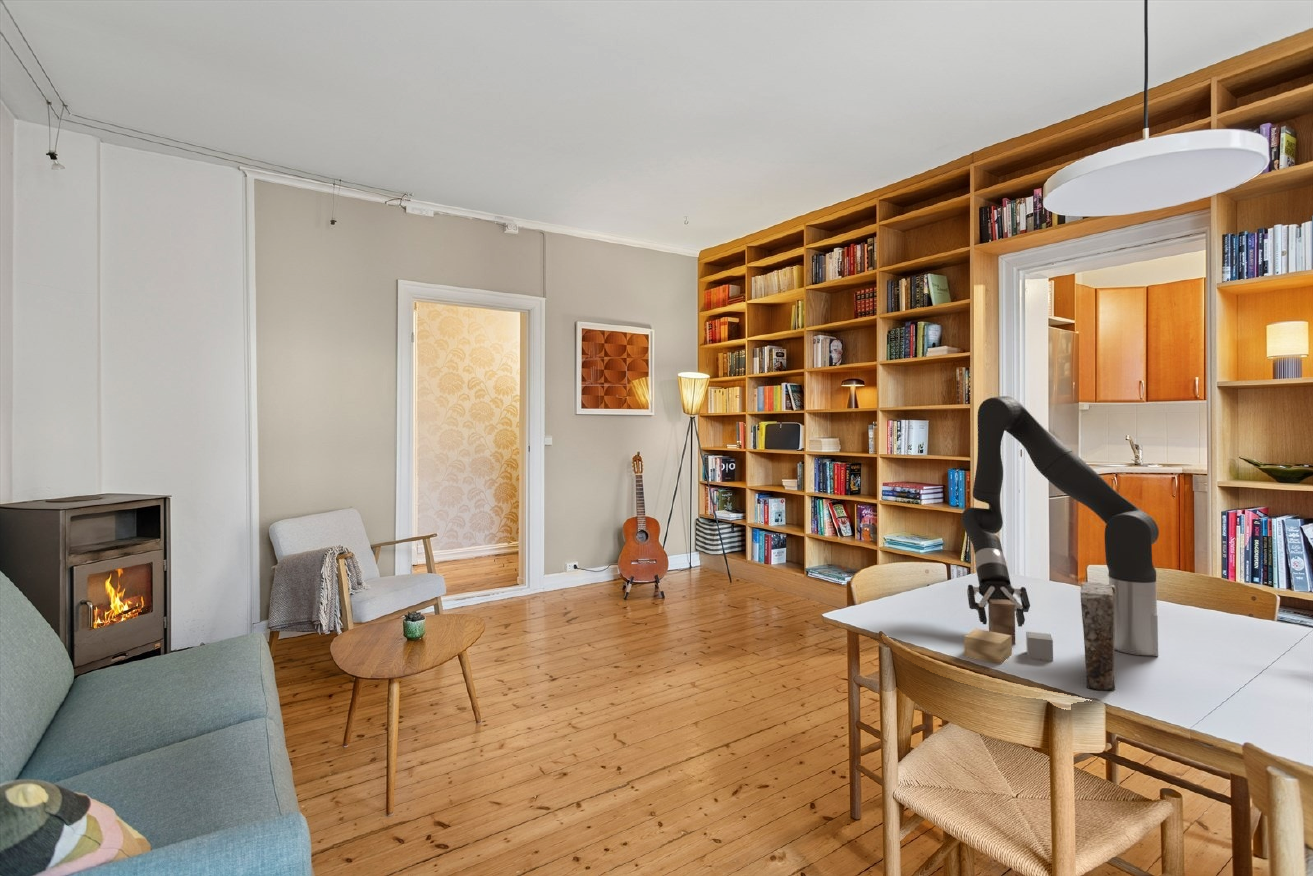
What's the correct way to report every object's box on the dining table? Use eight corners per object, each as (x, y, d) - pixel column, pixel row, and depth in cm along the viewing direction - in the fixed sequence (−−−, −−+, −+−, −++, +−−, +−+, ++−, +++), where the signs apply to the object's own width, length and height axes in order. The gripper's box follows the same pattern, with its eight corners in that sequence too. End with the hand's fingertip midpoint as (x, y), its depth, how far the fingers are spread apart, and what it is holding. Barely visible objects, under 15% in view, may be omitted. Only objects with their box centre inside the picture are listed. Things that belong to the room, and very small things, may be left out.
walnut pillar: (1010, 638, 164) (1009, 599, 164) (1015, 644, 159) (1014, 604, 159) (988, 636, 165) (988, 598, 165) (993, 643, 160) (992, 603, 160)
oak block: (1011, 656, 151) (1011, 635, 151) (1001, 665, 146) (1000, 643, 146) (976, 648, 157) (976, 628, 157) (964, 657, 151) (964, 636, 151)
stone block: (1078, 668, 142) (1076, 579, 142) (1116, 673, 139) (1114, 582, 139) (1082, 689, 131) (1080, 592, 131) (1124, 695, 127) (1122, 596, 127)
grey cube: (1050, 654, 151) (1050, 634, 151) (1053, 661, 147) (1052, 640, 147) (1026, 652, 153) (1026, 631, 153) (1028, 658, 149) (1027, 637, 149)
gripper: (964, 560, 171) (973, 615, 160) (1023, 562, 167) (1037, 618, 156) (961, 575, 176) (970, 629, 165) (1018, 577, 172) (1031, 633, 161)
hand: (1002, 624), depth 160 cm, fingers open, 7 cm apart
